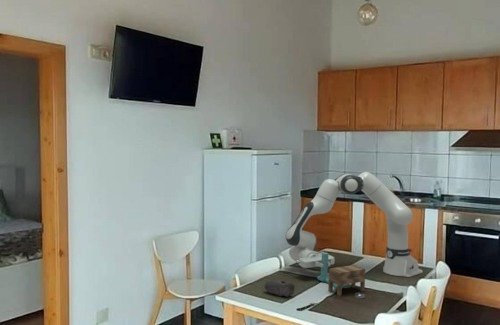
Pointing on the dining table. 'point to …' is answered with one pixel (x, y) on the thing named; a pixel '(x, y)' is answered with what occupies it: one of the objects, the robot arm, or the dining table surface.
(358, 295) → the metal token
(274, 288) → the perforated stone tool
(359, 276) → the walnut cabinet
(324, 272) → the teal post stand
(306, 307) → the cleaver
